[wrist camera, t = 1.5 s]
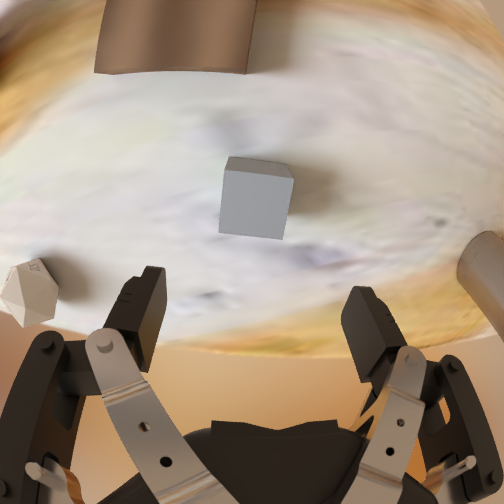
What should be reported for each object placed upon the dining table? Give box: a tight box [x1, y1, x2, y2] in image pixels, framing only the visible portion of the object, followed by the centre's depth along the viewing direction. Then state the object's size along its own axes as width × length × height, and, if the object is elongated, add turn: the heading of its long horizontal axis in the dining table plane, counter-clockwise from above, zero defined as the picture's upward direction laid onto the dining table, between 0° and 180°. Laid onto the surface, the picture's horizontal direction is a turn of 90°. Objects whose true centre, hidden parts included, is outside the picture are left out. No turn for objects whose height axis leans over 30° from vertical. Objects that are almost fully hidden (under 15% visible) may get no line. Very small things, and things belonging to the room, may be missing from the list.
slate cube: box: [219, 157, 294, 240], centre depth 22 cm, size 5×5×5 cm
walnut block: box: [94, 0, 258, 75], centre depth 14 cm, size 12×12×4 cm
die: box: [0, 258, 59, 328], centre depth 26 cm, size 8×9×10 cm
